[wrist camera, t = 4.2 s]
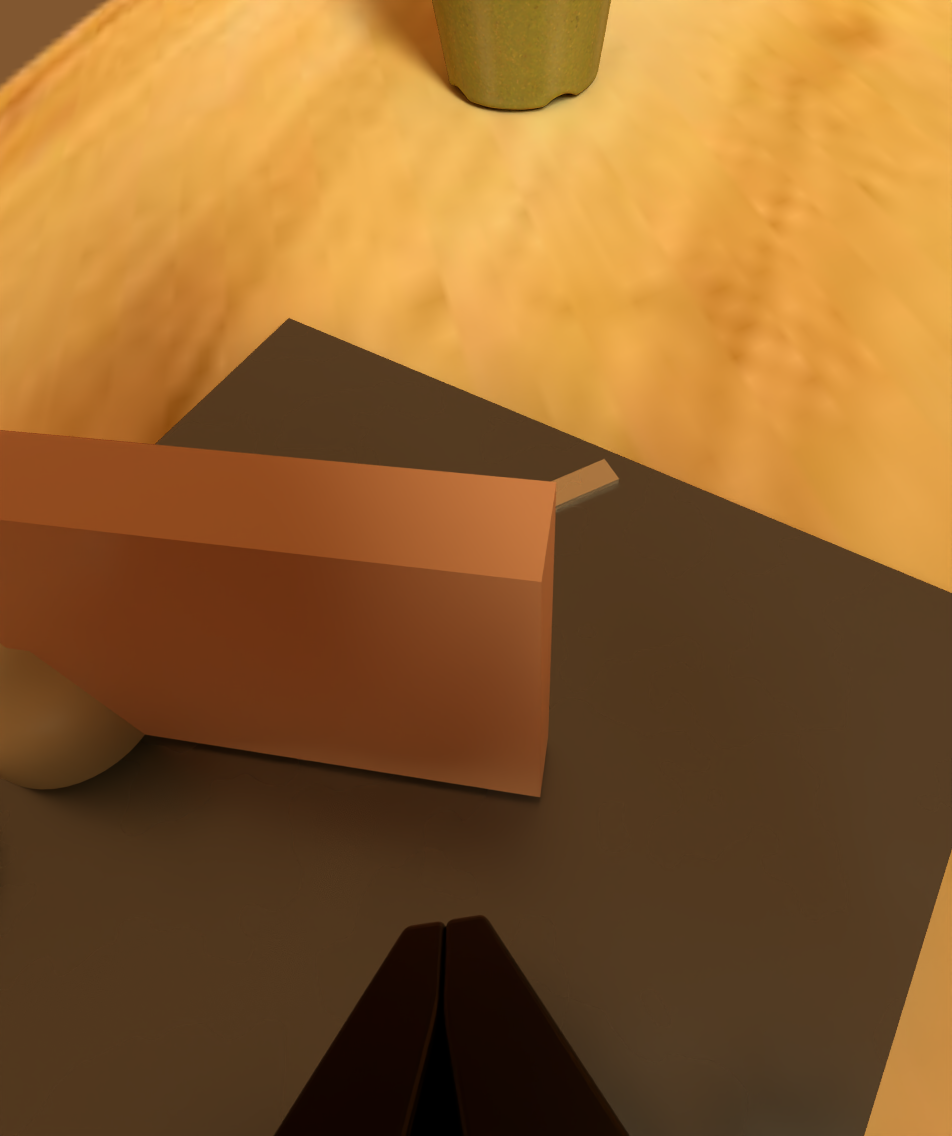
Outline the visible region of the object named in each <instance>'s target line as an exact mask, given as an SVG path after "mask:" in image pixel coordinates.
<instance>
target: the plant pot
mask: <svg viewBox="0 0 952 1136" xmlns="http://www.w3.org/2000/svg"><path fill="white" fill-rule="evenodd" d="M432 3H433V7H434V12H435V16H436V21H437V26H438V30H439V35H440V39H441V44H442V49H443V54H444V59H445V63H446V67H447V72H448V77H449V81H450V83H451V85H453V86H455V85H456V86H457V87H458V88H459V89H460V90H461V91H462V92H463V93H464V95H465V96H466V97H467V99H468V100H470V101H471V102H474V103H476V104H479V105H483V106H487V107H491V108H500V109H516V110H525V109H534V108H540V107H544V106H545V105H547V104H548V103H549V102H550V101H551V100H553V99H554V98H556V97H557V96H560V95H562V94H565V93H571V94H574V95H577V94H579V93H581V92H582V91H584V90H585V89H586V88H587V87H588V86H589V85H590V84H591V83H592V82H593V80H594V79H595V77H596V75H597V72H598V68H599V62H600V57H601V51H602V46H603V41H604V36H605V31H606V25H607V19H608V14H609V8H610V3H611V0H432Z"/></svg>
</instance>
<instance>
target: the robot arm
mask: <svg viewBox="0 0 952 1136" xmlns="http://www.w3.org/2000/svg"><path fill="white" fill-rule="evenodd" d="M274 1136H630V1135H629V1134H628V1132H627V1130H626V1129H625V1127H624V1126H623V1124H622V1123H621V1121H620V1120H619V1118H618V1117H617V1115H616V1114H615V1112H614V1111H613V1109H612V1108H611V1106H610V1105H609V1103H608V1101H607V1100H606V1098H605V1097H604V1095H603V1094H602V1092H601V1091H600V1089H599V1088H598V1086H597V1085H596V1083H595V1082H594V1080H593V1079H592V1077H591V1076H590V1074H589V1072H588V1071H587V1069H586V1068H585V1066H584V1065H583V1063H582V1062H581V1060H580V1059H579V1057H578V1056H577V1054H576V1053H575V1051H574V1050H573V1048H572V1047H571V1045H570V1043H569V1042H568V1040H567V1039H566V1037H565V1036H564V1034H563V1033H562V1031H561V1030H560V1028H559V1027H558V1025H557V1024H556V1022H555V1021H554V1019H553V1018H552V1016H551V1014H550V1013H549V1011H548V1010H547V1008H546V1007H545V1005H544V1004H543V1002H542V1001H541V999H540V998H539V996H538V995H537V993H536V992H535V990H534V989H533V987H532V985H531V984H530V982H529V981H528V979H527V978H526V976H525V975H524V973H523V972H522V970H521V969H520V967H519V966H518V964H517V963H516V961H515V960H514V958H513V956H512V955H511V953H510V952H509V950H508V949H507V947H506V946H505V944H504V943H503V941H502V940H501V938H500V937H499V935H498V934H497V932H496V931H495V929H494V927H493V926H492V924H491V923H490V921H489V920H488V919H487V918H486V917H485V916H483V915H476V916H470V917H463V918H457V919H452V920H450V921H449V922H448V923H447V925H446V926H445V925H444V923H442V922H440V921H437V922H431V923H424V924H418V925H411V926H408V927H407V928H405V929H404V930H403V932H402V933H401V935H400V936H399V938H398V939H397V941H396V942H395V944H394V946H393V947H392V949H391V950H390V952H389V954H388V955H387V957H386V958H385V960H384V961H383V963H382V965H381V966H380V968H379V969H378V971H377V973H376V974H375V976H374V977H373V979H372V980H371V982H370V984H369V985H368V987H367V988H366V990H365V992H364V993H363V995H362V996H361V998H360V999H359V1001H358V1003H357V1004H356V1006H355V1007H354V1009H353V1011H352V1012H351V1014H350V1015H349V1017H348V1018H347V1020H346V1022H345V1023H344V1025H343V1026H342V1028H341V1030H340V1031H339V1033H338V1034H337V1036H336V1037H335V1039H334V1041H333V1042H332V1044H331V1045H330V1047H329V1049H328V1050H327V1052H326V1053H325V1055H324V1056H323V1058H322V1060H321V1061H320V1063H319V1064H318V1066H317V1068H316V1069H315V1071H314V1072H313V1074H312V1075H311V1077H310V1079H309V1080H308V1082H307V1083H306V1085H305V1087H304V1088H303V1090H302V1091H301V1093H300V1094H299V1096H298V1098H297V1099H296V1101H295V1102H294V1104H293V1106H292V1107H291V1109H290V1110H289V1112H288V1113H287V1115H286V1117H285V1118H284V1120H283V1121H282V1123H281V1125H280V1126H279V1128H278V1129H277V1131H276V1132H275V1134H274Z"/></svg>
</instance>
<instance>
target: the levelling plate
mask: <svg viewBox="0 0 952 1136" xmlns="http://www.w3.org/2000/svg"><path fill="white" fill-rule="evenodd" d="M155 445H165V446H176V447H186V448H197V449H208V450H218V451H229V452H240V453H250V454H261V455H272V456H283V457H293V458H304V459H315V460H325V461H336V462H347V463H357V464H368V465H379V466H389V467H400V468H411V469H421V470H432V471H443V472H453V473H464V474H475V475H486V476H496V477H507V478H518V479H528V480H539V481H550V482H556V512H555V543H554V573H553V604H552V634H551V665H550V695H549V726H548V741H547V749H546V756H545V764H544V772H543V780H542V787H541V795H540V797H535V796H529V795H522V794H516V793H510V792H503V791H497V790H491V789H485V788H478V787H472V786H466V785H459V784H453V783H447V782H441V781H434V780H428V779H422V778H415V777H409V776H403V775H397V774H390V773H384V772H378V771H371V770H365V769H359V768H353V767H346V766H340V765H334V764H328V763H321V762H315V761H309V760H302V759H296V758H290V757H283V756H277V755H271V754H265V753H258V752H252V751H246V750H240V749H233V748H227V747H221V746H214V745H208V744H202V743H196V742H189V741H183V740H177V739H170V738H164V737H158V736H152V735H144V736H143V738H142V739H141V740H140V741H139V743H138V744H137V745H136V746H135V747H134V748H133V749H132V750H131V751H130V752H129V753H128V754H127V755H125V756H124V757H123V758H122V759H121V760H120V761H118V762H117V763H116V764H114V765H113V766H111V767H110V768H108V769H107V770H105V771H104V772H102V773H100V774H98V775H96V776H95V777H93V778H90V779H88V780H86V781H83V782H81V783H78V784H74V785H71V786H68V787H62V788H57V789H31V788H26V787H22V786H18V785H16V784H13V783H11V782H9V781H7V780H4V779H2V778H0V1136H274V1134H275V1132H276V1131H277V1129H278V1128H279V1126H280V1125H281V1123H282V1121H283V1120H284V1118H285V1117H286V1115H287V1113H288V1112H289V1110H290V1109H291V1107H292V1106H293V1104H294V1102H295V1101H296V1099H297V1098H298V1096H299V1094H300V1093H301V1091H302V1090H303V1088H304V1087H305V1085H306V1083H307V1082H308V1080H309V1079H310V1077H311V1075H312V1074H313V1072H314V1071H315V1069H316V1068H317V1066H318V1064H319V1063H320V1061H321V1060H322V1058H323V1056H324V1055H325V1053H326V1052H327V1050H328V1049H329V1047H330V1045H331V1044H332V1042H333V1041H334V1039H335V1037H336V1036H337V1034H338V1033H339V1031H340V1030H341V1028H342V1026H343V1025H344V1023H345V1022H346V1020H347V1018H348V1017H349V1015H350V1014H351V1012H352V1011H353V1009H354V1007H355V1006H356V1004H357V1003H358V1001H359V999H360V998H361V996H362V995H363V993H364V992H365V990H366V988H367V987H368V985H369V984H370V982H371V980H372V979H373V977H374V976H375V974H376V973H377V971H378V969H379V968H380V966H381V965H382V963H383V961H384V960H385V958H386V957H387V955H388V954H389V952H390V950H391V949H392V947H393V946H394V944H395V942H396V941H397V939H398V938H399V936H400V935H401V933H402V932H403V930H404V929H405V928H407V927H408V926H411V925H418V924H424V923H431V922H437V921H440V922H442V923H444V925H445V926H446V925H447V923H448V922H449V921H450V920H452V919H457V918H463V917H470V916H476V915H483V916H485V917H486V918H487V919H488V920H489V921H490V923H491V924H492V926H493V927H494V929H495V931H496V932H497V934H498V935H499V937H500V938H501V940H502V941H503V943H504V944H505V946H506V947H507V949H508V950H509V952H510V953H511V955H512V956H513V958H514V960H515V961H516V963H517V964H518V966H519V967H520V969H521V970H522V972H523V973H524V975H525V976H526V978H527V979H528V981H529V982H530V984H531V985H532V987H533V989H534V990H535V992H536V993H537V995H538V996H539V998H540V999H541V1001H542V1002H543V1004H544V1005H545V1007H546V1008H547V1010H548V1011H549V1013H550V1014H551V1016H552V1018H553V1019H554V1021H555V1022H556V1024H557V1025H558V1027H559V1028H560V1030H561V1031H562V1033H563V1034H564V1036H565V1037H566V1039H567V1040H568V1042H569V1043H570V1045H571V1047H572V1048H573V1050H574V1051H575V1053H576V1054H577V1056H578V1057H579V1059H580V1060H581V1062H582V1063H583V1065H584V1066H585V1068H586V1069H587V1071H588V1072H589V1074H590V1076H591V1077H592V1079H593V1080H594V1082H595V1083H596V1085H597V1086H598V1088H599V1089H600V1091H601V1092H602V1094H603V1095H604V1097H605V1098H606V1100H607V1101H608V1103H609V1105H610V1106H611V1108H612V1109H613V1111H614V1112H615V1114H616V1115H617V1117H618V1118H619V1120H620V1121H621V1123H622V1124H623V1126H624V1127H625V1129H626V1130H627V1132H628V1134H629V1135H630V1136H864V1134H865V1131H866V1128H867V1124H868V1121H869V1118H870V1114H871V1111H872V1108H873V1105H874V1101H875V1098H876V1095H877V1092H878V1088H879V1085H880V1082H881V1079H882V1075H883V1072H884V1069H885V1065H886V1062H887V1059H888V1056H889V1052H890V1049H891V1046H892V1043H893V1039H894V1036H895V1033H896V1030H897V1026H898V1023H899V1020H900V1016H901V1013H902V1010H903V1007H904V1003H905V1000H906V997H907V994H908V990H909V987H910V984H911V981H912V977H913V974H914V971H915V967H916V964H917V961H918V958H919V954H920V951H921V948H922V945H923V941H924V938H925V935H926V931H927V928H928V925H929V922H930V918H931V915H932V912H933V909H934V905H935V902H936V899H937V896H938V892H939V889H940V886H941V882H942V879H943V876H944V873H945V869H946V866H947V863H948V860H949V856H950V853H951V850H952V593H950V592H947V591H945V590H943V589H940V588H938V587H935V586H933V585H931V584H928V583H926V582H923V581H921V580H919V579H916V578H914V577H911V576H909V575H906V574H904V573H902V572H899V571H897V570H894V569H892V568H890V567H887V566H885V565H882V564H880V563H878V562H875V561H873V560H870V559H868V558H866V557H863V556H861V555H858V554H856V553H853V552H851V551H849V550H846V549H844V548H841V547H839V546H837V545H834V544H832V543H829V542H827V541H825V540H822V539H820V538H817V537H815V536H813V535H810V534H808V533H805V532H803V531H800V530H798V529H796V528H793V527H791V526H788V525H786V524H784V523H781V522H779V521H776V520H774V519H772V518H769V517H767V516H764V515H762V514H760V513H757V512H755V511H752V510H750V509H747V508H745V507H743V506H740V505H738V504H735V503H733V502H731V501H728V500H726V499H723V498H721V497H719V496H716V495H714V494H711V493H709V492H707V491H704V490H702V489H699V488H697V487H694V486H692V485H690V484H687V483H685V482H682V481H680V480H678V479H675V478H673V477H670V476H668V475H666V474H663V473H661V472H658V471H656V470H654V469H651V468H649V467H646V466H644V465H641V464H639V463H637V462H634V461H632V460H629V459H627V458H625V457H622V456H620V455H617V454H615V453H613V452H610V451H608V450H605V449H603V448H601V447H598V446H596V445H593V444H591V443H588V442H586V441H584V440H581V439H579V438H576V437H574V436H572V435H569V434H567V433H564V432H562V431H560V430H557V429H555V428H552V427H550V426H548V425H545V424H543V423H540V422H538V421H535V420H533V419H531V418H528V417H526V416H523V415H521V414H519V413H516V412H514V411H511V410H509V409H507V408H504V407H502V406H499V405H497V404H495V403H492V402H490V401H487V400H485V399H482V398H480V397H478V396H475V395H473V394H470V393H468V392H466V391H463V390H461V389H458V388H456V387H454V386H451V385H449V384H446V383H444V382H442V381H439V380H437V379H434V378H432V377H429V376H427V375H425V374H422V373H420V372H417V371H415V370H413V369H410V368H408V367H405V366H403V365H401V364H398V363H396V362H393V361H391V360H389V359H386V358H384V357H381V356H379V355H376V354H374V353H372V352H369V351H367V350H364V349H362V348H360V347H357V346H355V345H352V344H350V343H348V342H345V341H343V340H340V339H338V338H336V337H333V336H331V335H328V334H326V333H323V332H321V331H319V330H316V329H314V328H311V327H309V326H307V325H304V324H302V323H299V322H297V321H295V320H292V319H290V318H289V319H287V320H286V321H285V322H284V323H283V324H282V325H281V326H280V327H279V328H278V329H277V330H276V331H275V332H274V333H273V334H272V335H271V336H269V337H268V338H267V339H266V340H265V341H264V342H263V343H262V344H261V345H260V346H259V347H258V348H257V349H256V350H255V351H254V352H252V353H251V354H250V355H249V356H248V357H247V358H246V359H245V360H244V361H243V362H242V363H241V364H240V365H239V366H238V367H237V368H235V369H234V370H233V371H232V372H231V373H230V374H229V375H228V376H227V377H226V378H225V379H224V380H223V381H222V382H221V383H220V384H218V385H217V386H216V387H215V388H214V389H213V390H212V391H211V392H210V393H209V394H208V395H207V396H206V397H205V398H204V399H203V400H201V401H200V402H199V403H198V404H197V405H196V406H195V407H194V408H193V409H192V410H191V411H190V412H189V413H188V414H187V415H186V416H184V417H183V418H182V419H181V420H180V421H179V422H178V423H177V424H176V425H175V426H174V427H173V428H172V429H171V430H170V431H169V432H168V433H166V434H165V435H164V436H163V437H162V438H161V439H160V440H159V441H158V442H157V443H156V444H155Z"/></svg>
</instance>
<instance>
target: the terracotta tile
mask: <svg viewBox="0 0 952 1136" xmlns="http://www.w3.org/2000/svg"><path fill="white" fill-rule="evenodd" d="M555 512H556V482H550V481H539V480H528V479H518V478H507V477H496V476H486V475H475V474H464V473H453V472H443V471H432V470H421V469H411V468H400V467H389V466H379V465H368V464H357V463H347V462H336V461H325V460H315V459H304V458H293V457H283V456H272V455H261V454H250V453H240V452H229V451H218V450H208V449H197V448H186V447H176V446H165V445H154V444H144V443H133V442H122V441H112V440H101V439H90V438H80V437H69V436H58V435H47V434H37V433H26V432H15V431H5V430H0V778H2V779H4V780H7V781H9V782H11V783H13V784H16V785H18V786H22V787H26V788H31V789H57V788H62V787H68V786H71V785H74V784H78V783H81V782H83V781H86V780H88V779H90V778H93V777H95V776H96V775H98V774H100V773H102V772H104V771H105V770H107V769H108V768H110V767H111V766H113V765H114V764H116V763H117V762H118V761H120V760H121V759H122V758H123V757H124V756H125V755H127V754H128V753H129V752H130V751H131V750H132V749H133V748H134V747H135V746H136V745H137V744H138V743H139V741H140V740H141V739H142V738H143V736H144V735H152V736H158V737H164V738H170V739H177V740H183V741H189V742H196V743H202V744H208V745H214V746H221V747H227V748H233V749H240V750H246V751H252V752H258V753H265V754H271V755H277V756H283V757H290V758H296V759H302V760H309V761H315V762H321V763H328V764H334V765H340V766H346V767H353V768H359V769H365V770H371V771H378V772H384V773H390V774H397V775H403V776H409V777H415V778H422V779H428V780H434V781H441V782H447V783H453V784H459V785H466V786H472V787H478V788H485V789H491V790H497V791H503V792H510V793H516V794H522V795H529V796H535V797H540V795H541V787H542V780H543V772H544V764H545V756H546V749H547V741H548V726H549V695H550V665H551V634H552V604H553V573H554V543H555Z"/></svg>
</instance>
